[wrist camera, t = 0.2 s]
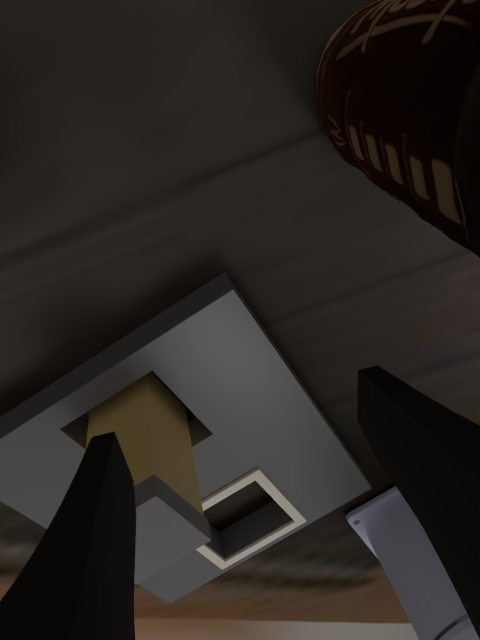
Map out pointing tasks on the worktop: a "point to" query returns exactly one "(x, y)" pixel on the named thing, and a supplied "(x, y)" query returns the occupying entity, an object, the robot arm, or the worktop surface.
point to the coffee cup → (410, 106)
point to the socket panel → (194, 430)
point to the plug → (156, 471)
